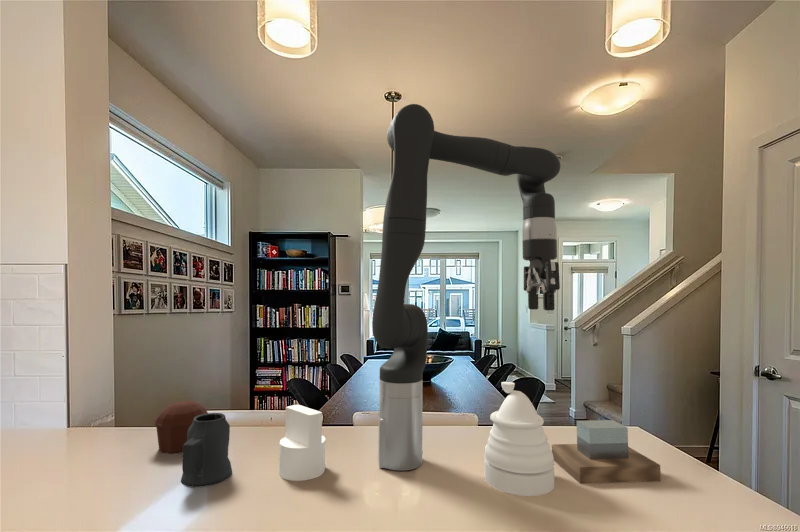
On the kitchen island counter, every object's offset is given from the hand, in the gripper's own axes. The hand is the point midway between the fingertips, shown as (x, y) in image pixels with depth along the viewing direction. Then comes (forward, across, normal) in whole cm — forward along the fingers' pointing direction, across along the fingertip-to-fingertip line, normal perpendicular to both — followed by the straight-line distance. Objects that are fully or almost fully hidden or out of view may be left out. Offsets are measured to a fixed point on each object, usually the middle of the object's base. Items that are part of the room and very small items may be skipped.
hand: (540, 309), depth 94 cm
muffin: (+32, +10, +82) cm, 89 cm away
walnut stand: (+32, -8, -9) cm, 34 cm away
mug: (+32, -8, +70) cm, 78 cm away
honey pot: (+32, -12, +10) cm, 36 cm away
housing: (+29, -8, -9) cm, 31 cm away
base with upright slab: (+32, -5, +52) cm, 61 cm away
